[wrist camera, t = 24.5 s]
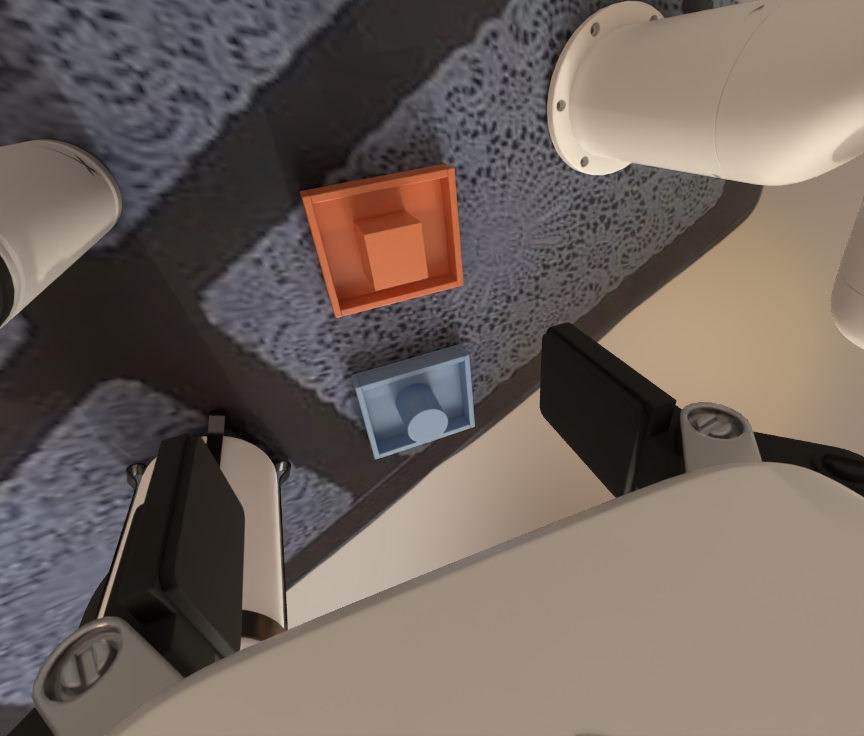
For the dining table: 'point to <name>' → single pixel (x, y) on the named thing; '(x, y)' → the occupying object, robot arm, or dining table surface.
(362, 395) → the blue tray
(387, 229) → the terracotta block
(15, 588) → the dining table surface
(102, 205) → the travel mug
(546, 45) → the dining table surface
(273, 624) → the coffee press
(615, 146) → the robot arm
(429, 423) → the blue cylinder
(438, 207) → the terracotta tray
